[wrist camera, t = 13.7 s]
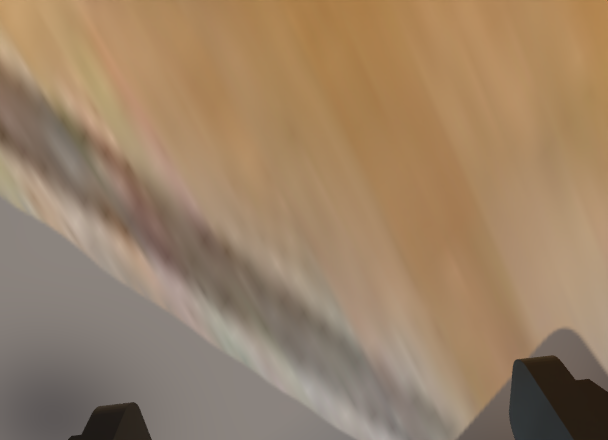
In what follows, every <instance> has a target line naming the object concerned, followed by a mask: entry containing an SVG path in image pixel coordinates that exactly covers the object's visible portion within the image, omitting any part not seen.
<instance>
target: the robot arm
mask: <svg viewBox="0 0 608 440" xmlns="http://www.w3.org/2000/svg"><path fill="white" fill-rule="evenodd" d="M509 417H510V424H511V428H512V432H513V435H514V438H515V440H608V392H607V391H605V390H604V389H603V388H601V387H600V386H598V385H597V384H595V383H594V382H592V381H591V380H590V379H585V380H575V379H574V377H573V376H572V375H571V374H570V372H569V371H568V370H567V368H566V367H565V366H564V364H563V363H562V362H561V361H560V359H558V358H557V357H556V356H543V357H535V358H526V359H517V360H515V362H514V364H513V372H512V384H511V395H510V407H509ZM68 440H152V439H151V437H150V434H149V432H148V429H147V427H146V424H145V422H144V419H143V416H142V414H141V411H140V409H139V406H138V405H137V404H136V403H134V402H132V403H123V404H115V405H106V406H99V407H97V408H96V409H95V410H94V411H93V413H92V415H91V417H90V419H89V421H88V423H87V425H86V427H85V429H84V431H83V433H82V435H76V436H71V437H70V438H69V439H68Z"/></svg>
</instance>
